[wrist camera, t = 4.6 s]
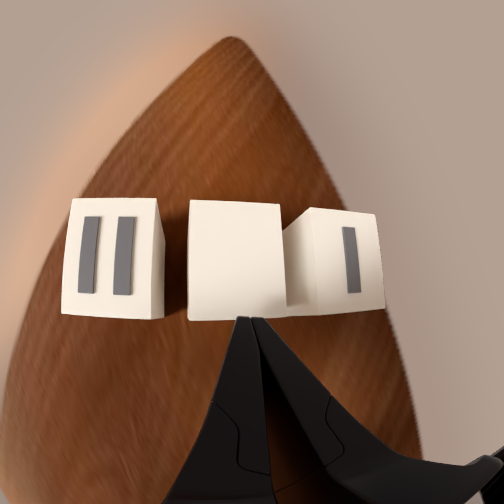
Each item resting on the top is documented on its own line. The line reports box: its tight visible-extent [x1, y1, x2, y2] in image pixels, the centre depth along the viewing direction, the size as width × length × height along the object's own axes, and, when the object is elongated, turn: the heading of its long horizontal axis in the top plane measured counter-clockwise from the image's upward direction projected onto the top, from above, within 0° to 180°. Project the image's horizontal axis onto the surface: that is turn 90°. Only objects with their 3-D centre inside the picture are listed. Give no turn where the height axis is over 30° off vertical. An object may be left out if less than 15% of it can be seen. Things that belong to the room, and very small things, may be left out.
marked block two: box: [61, 198, 165, 319], centre depth 13 cm, size 5×4×7 cm
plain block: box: [187, 200, 287, 321], centre depth 15 cm, size 5×4×7 cm
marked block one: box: [282, 207, 385, 316], centre depth 16 cm, size 5×4×7 cm
